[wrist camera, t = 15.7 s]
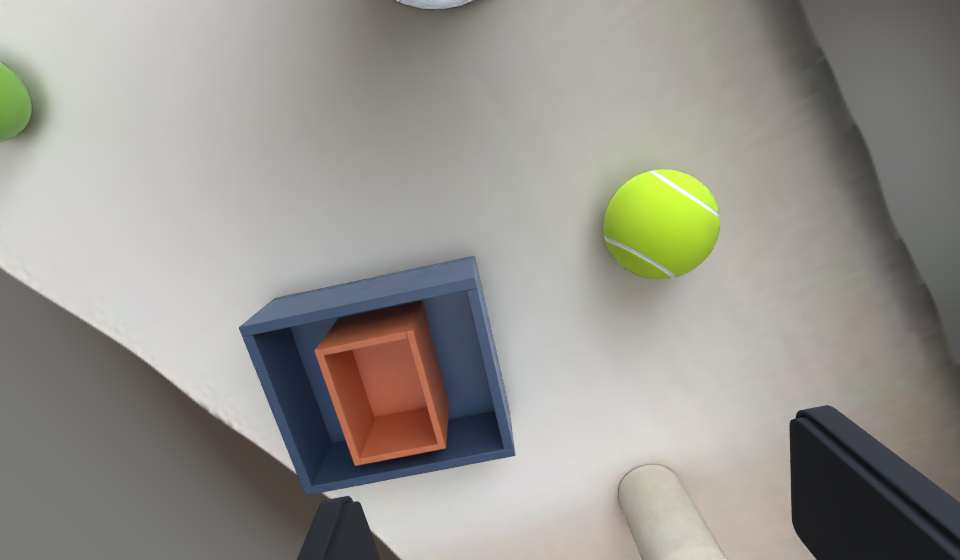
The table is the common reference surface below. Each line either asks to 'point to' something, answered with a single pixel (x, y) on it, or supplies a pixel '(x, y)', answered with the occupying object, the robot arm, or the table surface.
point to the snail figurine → (13, 104)
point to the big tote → (305, 397)
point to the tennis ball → (661, 224)
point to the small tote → (386, 383)
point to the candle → (665, 517)
